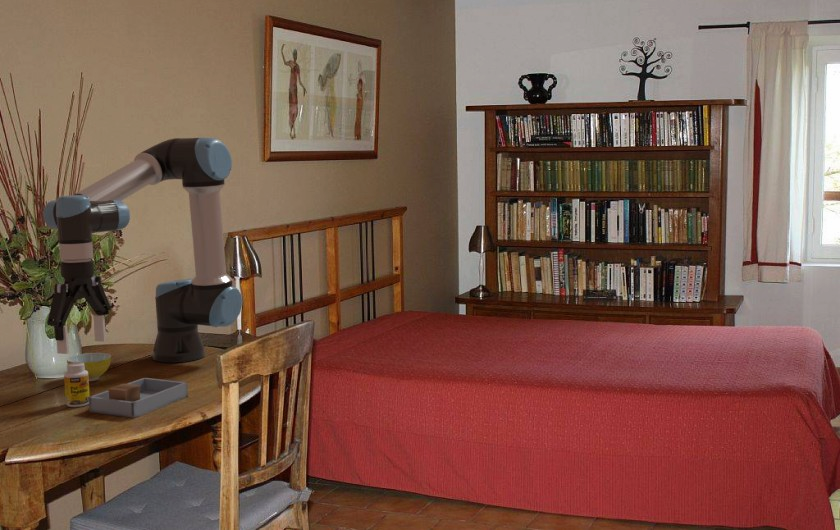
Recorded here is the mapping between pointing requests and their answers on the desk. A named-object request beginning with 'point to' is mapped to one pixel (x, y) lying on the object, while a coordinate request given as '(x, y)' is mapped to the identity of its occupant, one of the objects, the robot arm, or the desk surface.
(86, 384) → the supplement bottle
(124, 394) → the walnut cube
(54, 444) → the desk surface
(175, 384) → the tray
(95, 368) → the bowl
